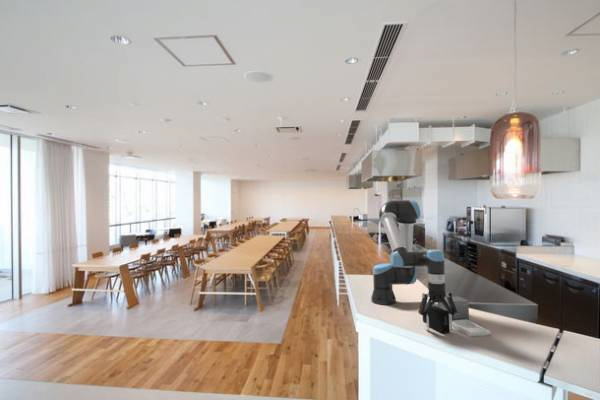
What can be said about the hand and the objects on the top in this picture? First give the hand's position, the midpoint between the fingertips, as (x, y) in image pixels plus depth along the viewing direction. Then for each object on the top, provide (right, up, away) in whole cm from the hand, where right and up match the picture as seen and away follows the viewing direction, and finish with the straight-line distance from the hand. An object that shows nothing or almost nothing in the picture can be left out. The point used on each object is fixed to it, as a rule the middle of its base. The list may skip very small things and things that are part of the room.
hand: (438, 328), depth 146 cm
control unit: (+14, -1, +13) cm, 19 cm away
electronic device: (0, -1, 0) cm, 1 cm away
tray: (+14, 0, 0) cm, 14 cm away
